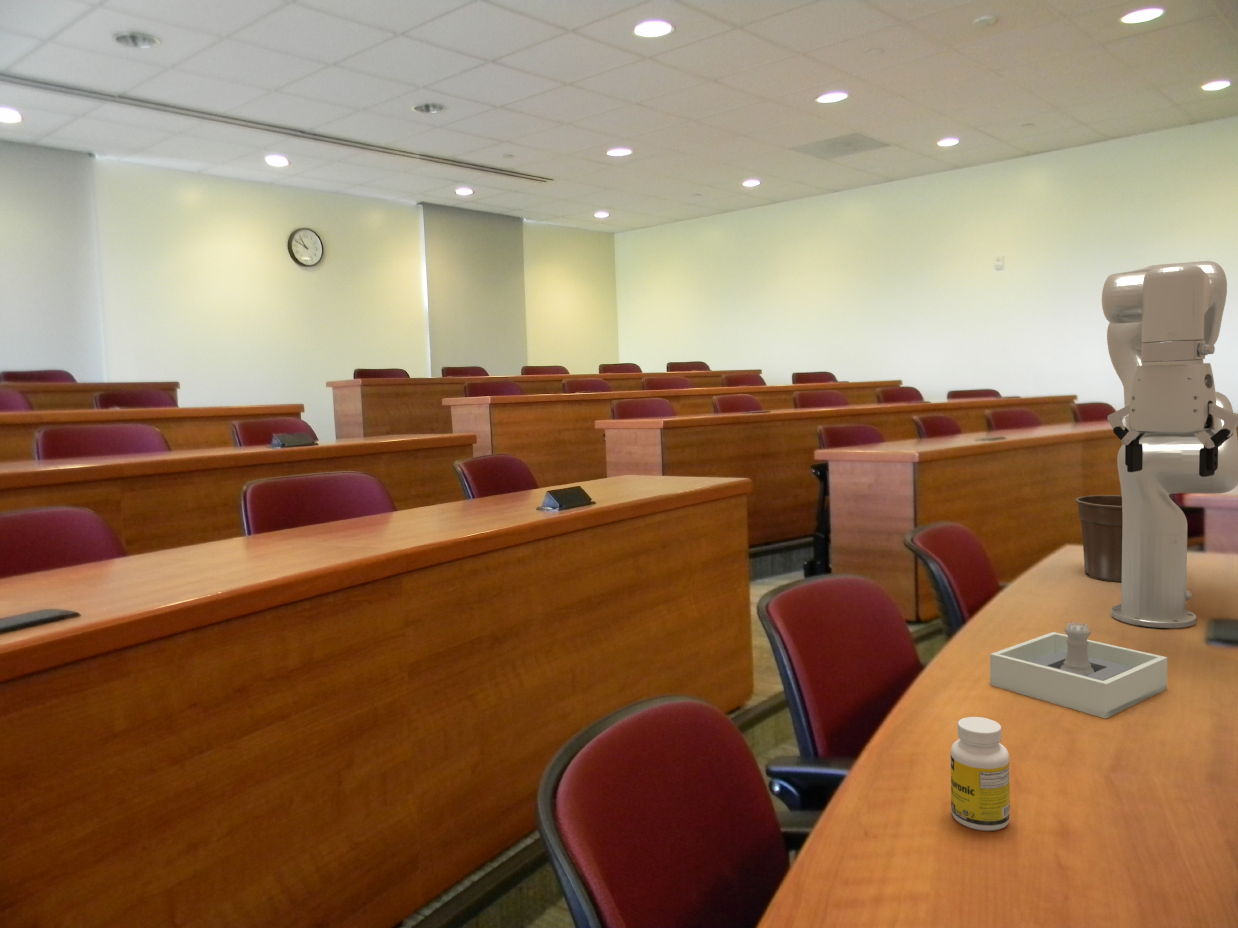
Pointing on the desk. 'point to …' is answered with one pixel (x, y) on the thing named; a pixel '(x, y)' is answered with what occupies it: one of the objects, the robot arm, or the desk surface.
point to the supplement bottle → (980, 775)
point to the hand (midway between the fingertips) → (1169, 473)
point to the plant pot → (1102, 536)
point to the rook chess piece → (1077, 650)
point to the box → (1079, 675)
